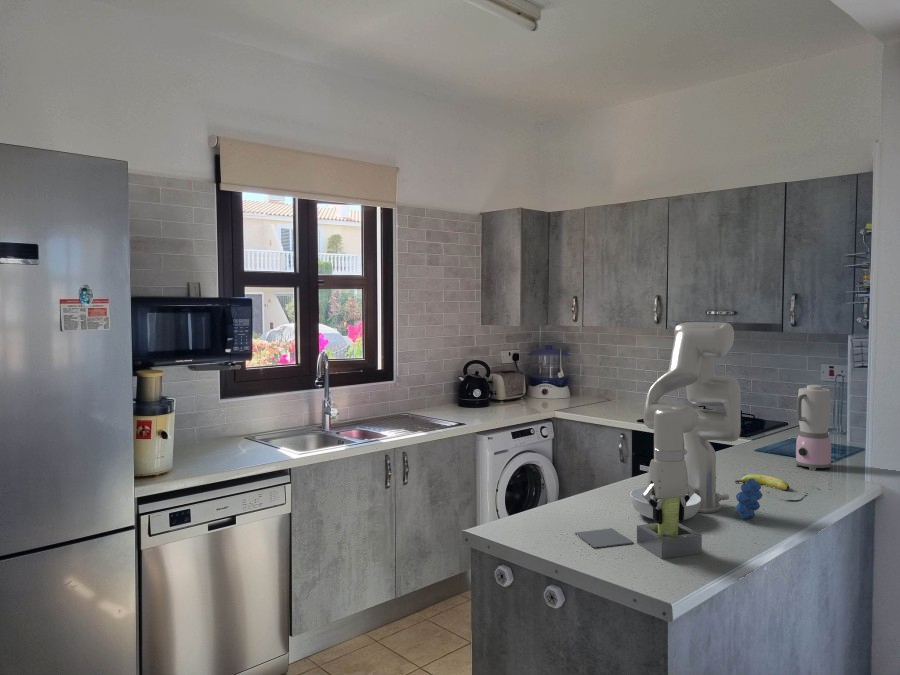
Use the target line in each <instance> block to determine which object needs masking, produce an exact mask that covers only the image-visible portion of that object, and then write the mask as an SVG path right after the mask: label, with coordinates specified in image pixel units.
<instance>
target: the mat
mask: <svg viewBox="0 0 900 675" xmlns="http://www.w3.org/2000/svg"><path fill="white" fill-rule="evenodd" d="M574 533H575V534H576V535H578V536H579V537H580V538H582V539H583V540H584V541H586V542H587V543H588V544H587V543H586V542H585V543H586V544H587V545H589V544H590V545H591V546H592V547H591V546H590V545H589V546H590V547H591V548H593V547H594V548H595V549H598V548H597V547H603V548H608V547H607V546H611V547H617V545H619V546H626V544H627V545H634V541H633V540H632V539H630V538H628V537H627V536H625V535H624V534H622V533H620V532H618V531H617V530H615V529H614V528H611V527H610V528H603V529H602V528H601V529H595V530H587V531H577V532H574ZM575 534H574V535H575ZM576 535H575V536H576ZM578 536H577V537H578ZM579 537H578V538H579ZM580 538H579V539H580ZM582 539H581V540H582ZM583 540H582V541H583ZM584 541H583V542H584ZM594 548H593V549H594Z"/></svg>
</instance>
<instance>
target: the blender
mask: <svg viewBox="0 0 900 675" xmlns="http://www.w3.org/2000/svg"><path fill="white" fill-rule="evenodd" d="M831 404H832V403H831V390H830V389H829V388H823V386H822V385H817V384H815V385H814V384H808V385H806V387H801V388H798V394H797V398H796V419H797V421H798V424H799V434H798V436H797V438H796V443H795V466H796V467H797V468H798V467H799V466H802V467H805V468H807V467H808V469H809V471H816V470H817V469H825V468H829V469H831V468H832V442H831V438H830V437H829V436H830V435H829V432H828V431H829V426H830V420H831V412H832V411H831V408H832V407H831V406H832V405H831Z"/></svg>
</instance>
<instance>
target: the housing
mask: <svg viewBox="0 0 900 675" xmlns="http://www.w3.org/2000/svg"><path fill="white" fill-rule="evenodd" d="M702 539H703V535H702V534H701V533H699V532H697V531H695V530H693V529H692V528H689V527H687V526H686V525H683V524H682V523H679V522H678V535H677V536H669V537H663V536H661V535H659V534H658V523H656V522H654V523H647V524H637V525H636V544H637V545H638V546H641V547H642V548H644V549H646V550H647V551H648V552H650V553H652V554H653V555H654V556H656V557H658V558H659V559H661V560H663V559H664V560H665V559H672V558H673V559H674V558H678V557H679V558H680V557H687V556H688V557H689V556H695V555H702V553H703V551H702V550H703V549H702V548H703V547H702V546H703V545H702V544H703V540H702Z"/></svg>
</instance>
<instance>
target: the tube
mask: <svg viewBox="0 0 900 675" xmlns="http://www.w3.org/2000/svg"><path fill="white" fill-rule="evenodd" d="M657 500H658V499H657ZM679 504H680V497H676V498H667V499H663V501H662V504H661V508H660V509H662V524H658V534H659V535H661V536H663V537H669V536H677V535H678V523H679V521H678V519H679Z"/></svg>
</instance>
